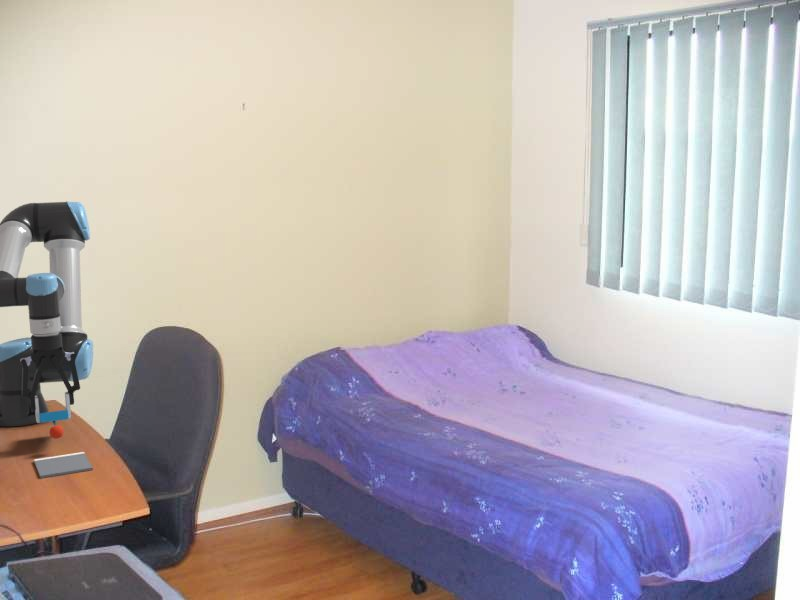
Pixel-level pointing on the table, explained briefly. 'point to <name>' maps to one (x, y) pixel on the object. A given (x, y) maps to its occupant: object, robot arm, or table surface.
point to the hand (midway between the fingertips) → (53, 418)
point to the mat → (62, 464)
